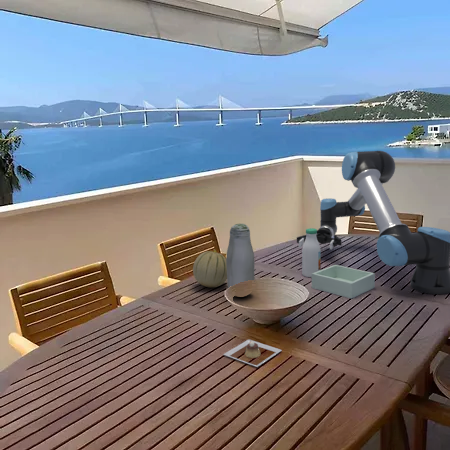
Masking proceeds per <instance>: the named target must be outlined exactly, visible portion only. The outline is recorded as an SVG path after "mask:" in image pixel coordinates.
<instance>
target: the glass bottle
mask: <svg viewBox="0 0 450 450" xmlns="http://www.w3.org/2000/svg"><path fill="white" fill-rule="evenodd" d="M225 258H226V266H227V280H226V282H227V283H226V284H227V288H229V287H230V286H233V285H235V284H238V283H240V282H244V281H248V280H255V252H254V248H253V244H252V241H251V231H250V227H249V226H248V225H247V224H246V223H236V224H234V225H232V226H231V227H230V230H229V241H228V246H227V249H226V255H225Z"/></svg>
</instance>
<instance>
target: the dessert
mask: <svg viewBox="0 0 450 450" xmlns="http://www.w3.org/2000/svg"><path fill="white" fill-rule="evenodd" d="M245 347H246V348H245ZM243 348H245V352H244V356H245V357H247V358H249V359H255V358H259V357H260V356H261V350H260V348H261V349H265V350H267V351H271V352H274V353H273V354H271V355H270V356H269V357H267V358H265V359H264V360H262V361H261V362H259V363H258V364H253V363H250V362H247V361H244V360H242V359H239V358H236V357H233V356H232V355H233V354H235V353H236V352H238V351H240V350H241V349H243ZM280 352H282V349H280V348H277V347H274V346H271V345H268V344H264V343H261V342H259V341H255V340H252V339H250V338H249V339H247V340H245V341H243V342H242V343H240V344H238V345H236V346H235V347H234V348H231V349H229V350H228V351H226V352H225V353H223V354H222V355H223V356H226V357H228V358H231V359H234V360H237V361H240V362H242V363H244V364H248V365H249V366H253V367H255V368H256V367H257V368H259V366H261V365H262V364H264V363H265V362H267V361H269V360H270V359H271V358H273V357H274V356H276V355H278V354H279V353H280Z"/></svg>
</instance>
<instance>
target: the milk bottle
mask: <svg viewBox="0 0 450 450" xmlns="http://www.w3.org/2000/svg"><path fill="white" fill-rule="evenodd" d="M317 230H318V229H317V228H312V227H310V228H306V229H305V235H306V239H305V242H304V244H303V245H302V247H301V248H302V249H301V255H302V256H301V272H302V276H304V277H306V278H312V273H315V272H317V271H320V270H322V269H321V267H322V266H321V265H322V264H321V262H322V261H321V260H322V259H321V254H322V253H321V244H320V243H319V242H318V240H317V237H316V235H317Z"/></svg>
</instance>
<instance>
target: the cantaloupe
mask: <svg viewBox="0 0 450 450" xmlns="http://www.w3.org/2000/svg"><path fill="white" fill-rule="evenodd" d="M192 272H193V276H194V278H195V281H196V282H197V283H198V284H199V285H202V286H204V287H206V288H217V287H219V286H221V285H223V284H224V283H226V282H227V266H226V256H225V255H223V254H221V253H220V252H217V250H216V249H215V248H213V251H210V250H209V251H204V252H201V253H200V254H199V255H198V256H197V257H196V259H195V261H194V262H193V267H192Z"/></svg>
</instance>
